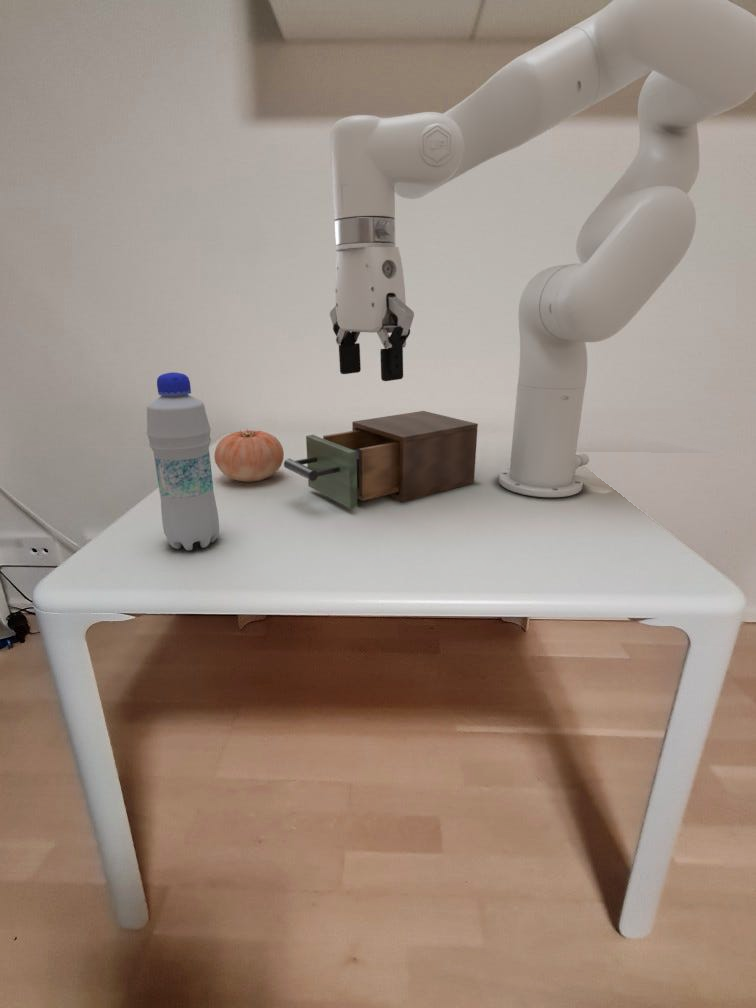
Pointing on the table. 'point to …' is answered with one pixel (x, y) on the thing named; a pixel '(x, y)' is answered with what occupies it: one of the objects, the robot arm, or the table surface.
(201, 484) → the bottle
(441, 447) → the cabinet
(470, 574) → the table surface
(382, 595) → the table surface
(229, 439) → the orange pumpkin
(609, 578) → the table surface
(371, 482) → the drawer
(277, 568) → the table surface
